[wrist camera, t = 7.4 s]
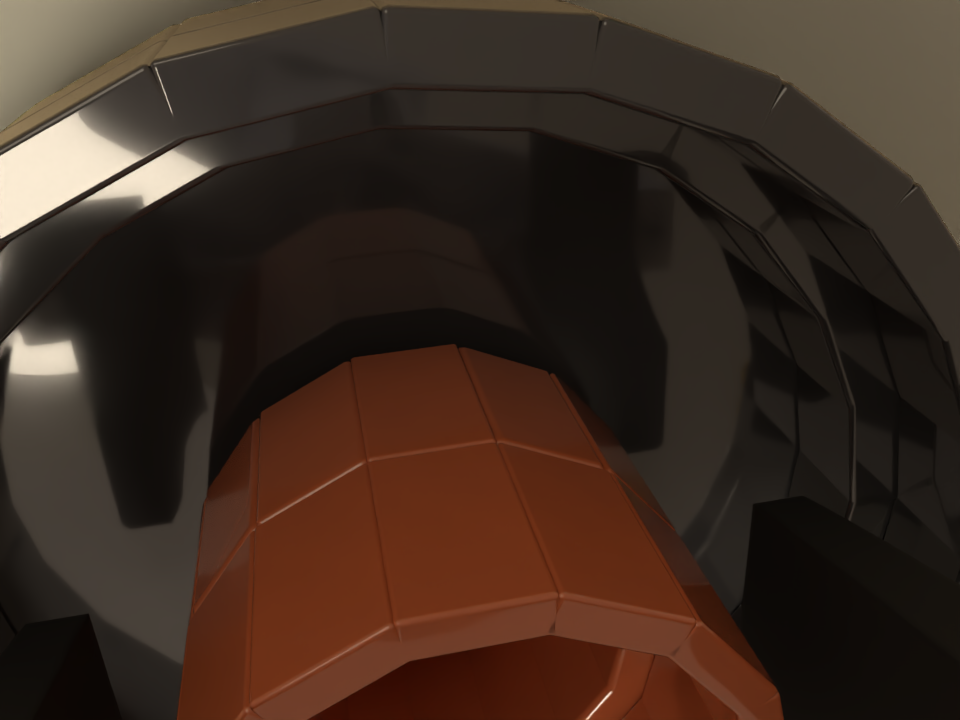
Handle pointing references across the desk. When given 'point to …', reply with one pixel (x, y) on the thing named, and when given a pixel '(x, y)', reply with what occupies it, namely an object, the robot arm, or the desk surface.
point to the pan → (451, 283)
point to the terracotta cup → (450, 562)
